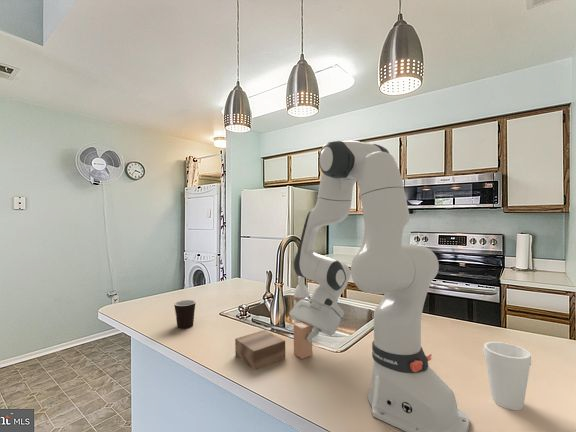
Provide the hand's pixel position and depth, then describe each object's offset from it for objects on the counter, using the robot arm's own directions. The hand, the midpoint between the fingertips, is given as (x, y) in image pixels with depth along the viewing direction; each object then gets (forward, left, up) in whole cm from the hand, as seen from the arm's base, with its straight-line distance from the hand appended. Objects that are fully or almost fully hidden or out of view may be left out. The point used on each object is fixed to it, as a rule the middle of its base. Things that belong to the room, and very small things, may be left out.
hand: (301, 337), depth 100 cm
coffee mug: (+53, +20, -6) cm, 57 cm away
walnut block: (+8, +11, -6) cm, 15 cm away
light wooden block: (0, -1, -6) cm, 6 cm away
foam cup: (-51, -24, -6) cm, 56 cm away
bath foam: (+24, -21, -6) cm, 32 cm away
